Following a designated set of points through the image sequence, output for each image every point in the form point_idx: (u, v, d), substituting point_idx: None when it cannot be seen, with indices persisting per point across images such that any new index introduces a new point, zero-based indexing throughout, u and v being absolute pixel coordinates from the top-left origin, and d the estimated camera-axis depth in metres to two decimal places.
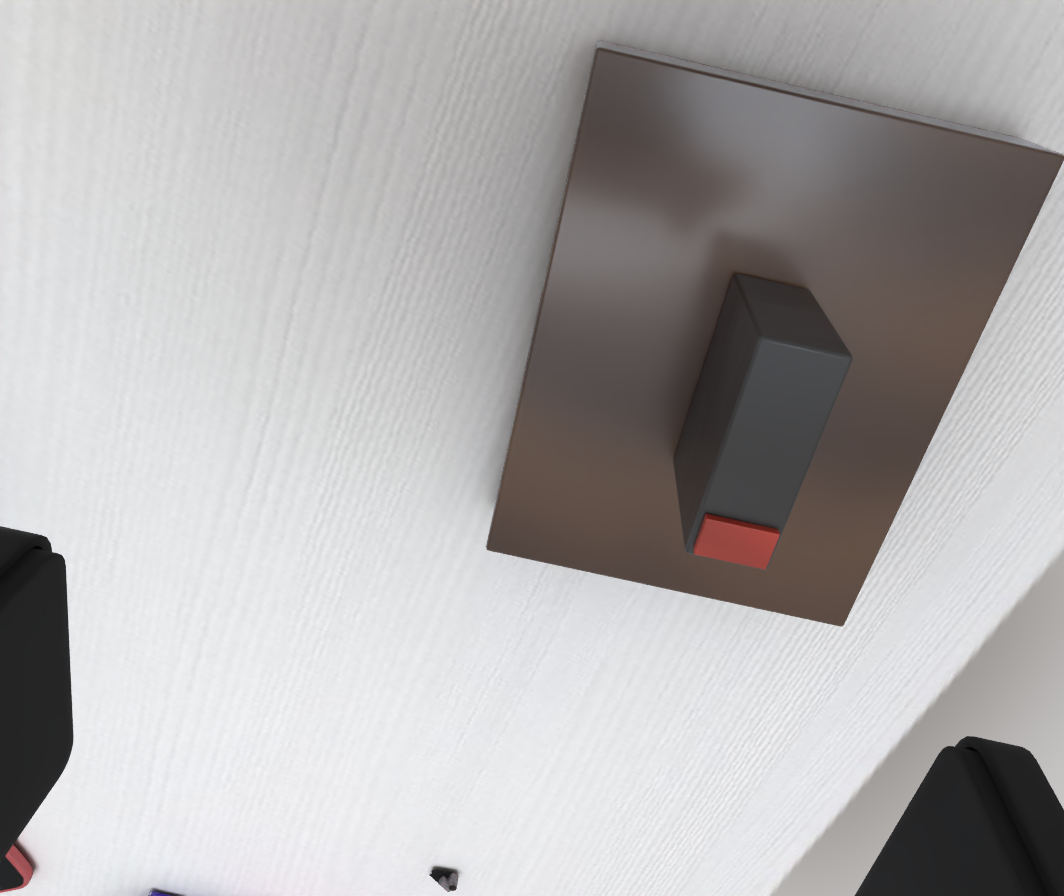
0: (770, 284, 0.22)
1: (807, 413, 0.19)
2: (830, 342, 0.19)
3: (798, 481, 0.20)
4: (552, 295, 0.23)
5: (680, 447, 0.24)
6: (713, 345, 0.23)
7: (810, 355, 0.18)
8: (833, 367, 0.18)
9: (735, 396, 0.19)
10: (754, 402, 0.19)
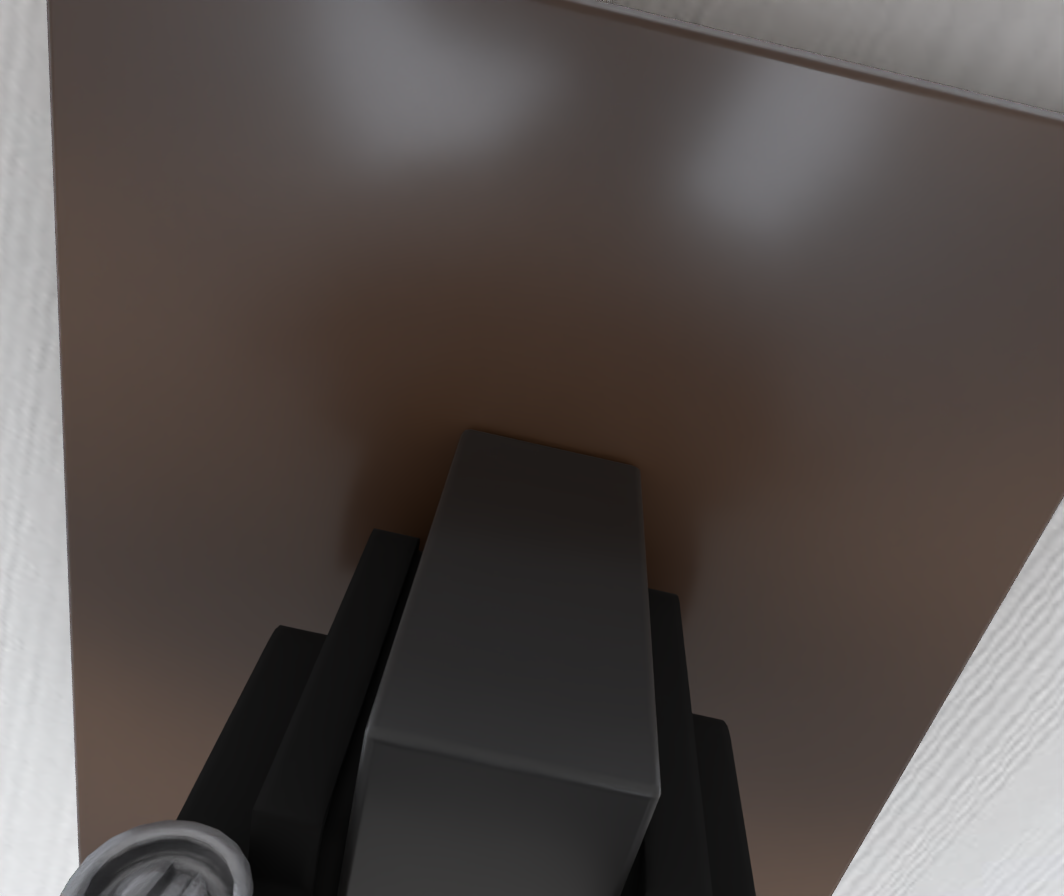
0: (540, 459, 0.09)
1: None
2: (607, 713, 0.06)
3: None
4: (82, 462, 0.10)
5: None
6: None
7: (528, 787, 0.06)
8: (602, 816, 0.06)
9: None
10: (386, 885, 0.06)
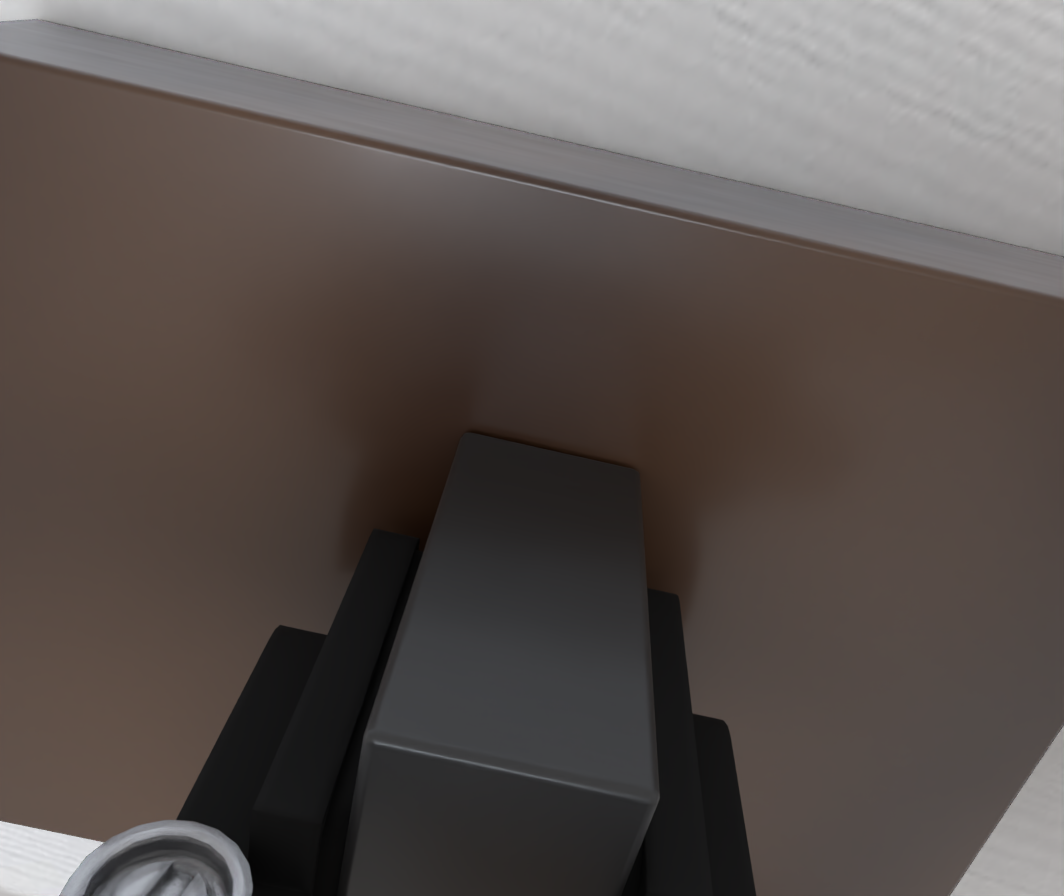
0: (539, 462, 0.09)
1: None
2: (606, 718, 0.06)
3: None
4: (722, 248, 0.09)
5: None
6: None
7: (525, 791, 0.06)
8: (600, 821, 0.06)
9: None
10: (384, 887, 0.06)
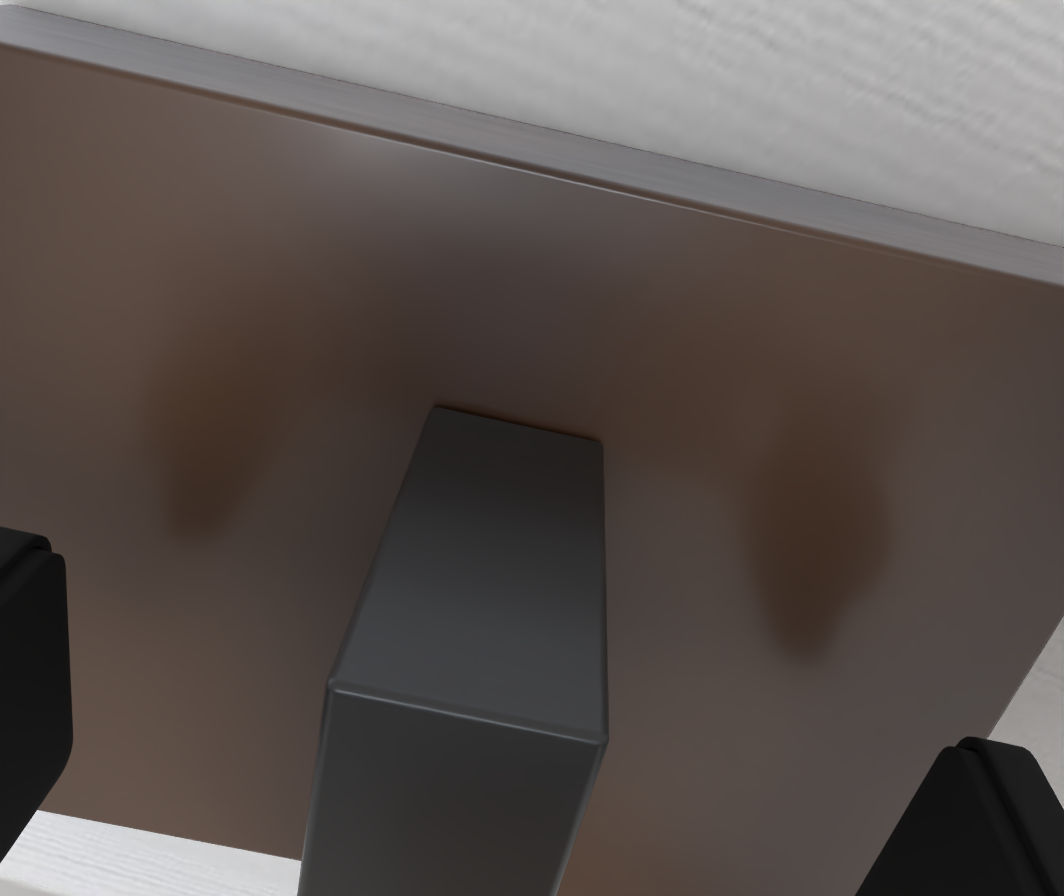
0: (505, 435, 0.10)
1: (501, 863, 0.07)
2: (560, 669, 0.07)
3: None
4: (680, 225, 0.09)
5: None
6: None
7: (482, 736, 0.06)
8: (553, 763, 0.06)
9: None
10: (349, 834, 0.07)
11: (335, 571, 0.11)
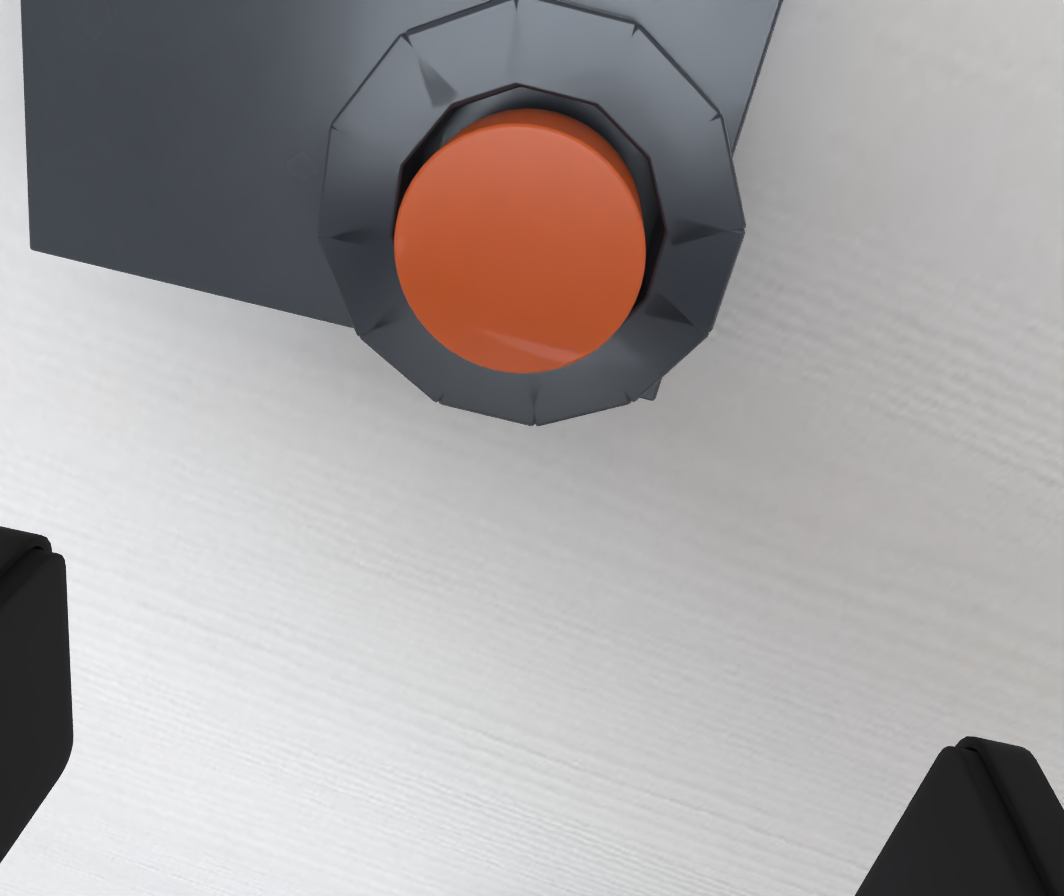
0: None
1: None
2: None
3: None
4: None
5: None
6: None
7: None
8: None
9: None
10: None
11: None
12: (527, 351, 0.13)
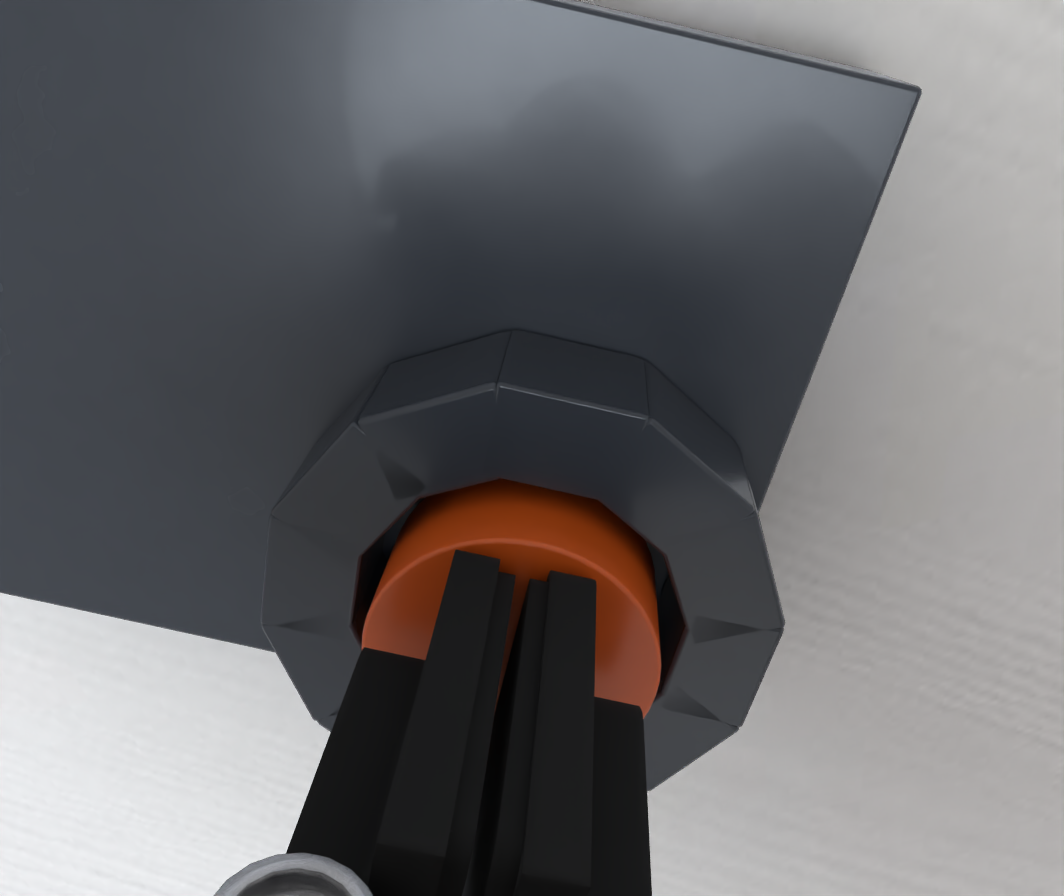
0: None
1: None
2: None
3: None
4: None
5: None
6: None
7: None
8: None
9: None
10: None
11: None
12: None
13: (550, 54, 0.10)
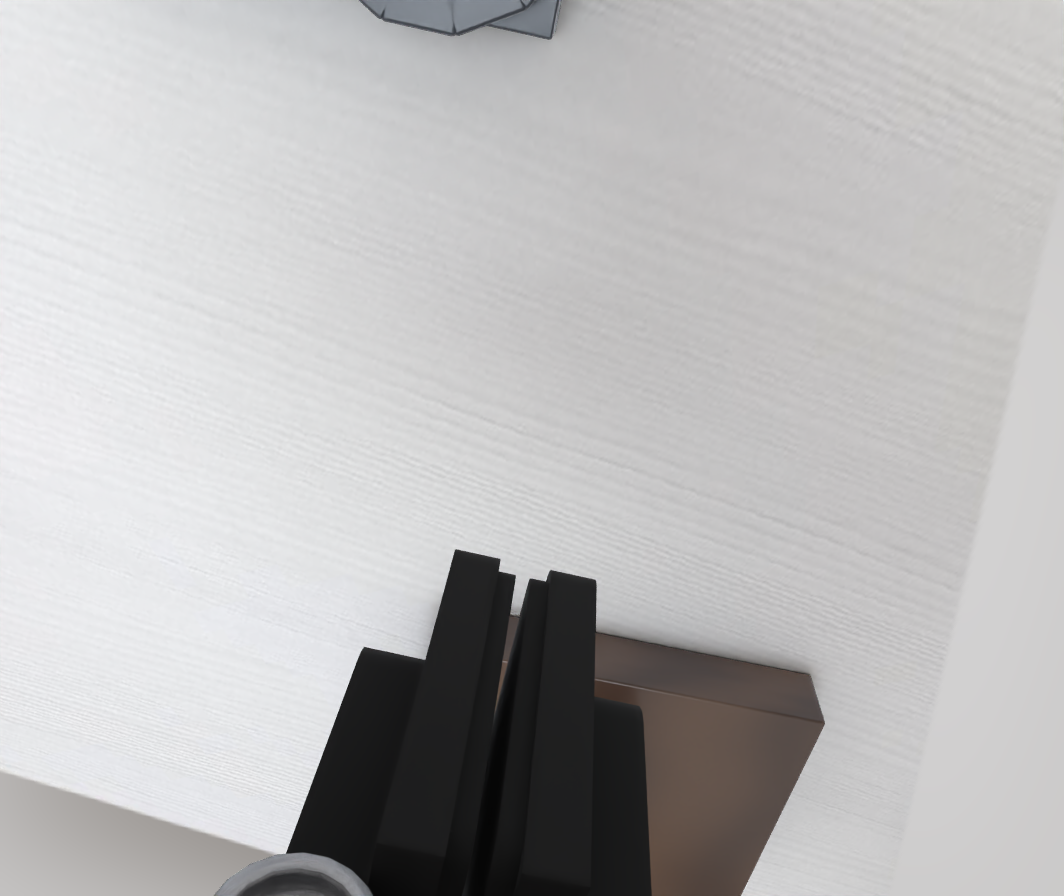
0: None
1: None
2: None
3: None
4: (662, 697, 0.31)
5: None
6: None
7: None
8: None
9: None
10: None
11: None
12: None
13: None
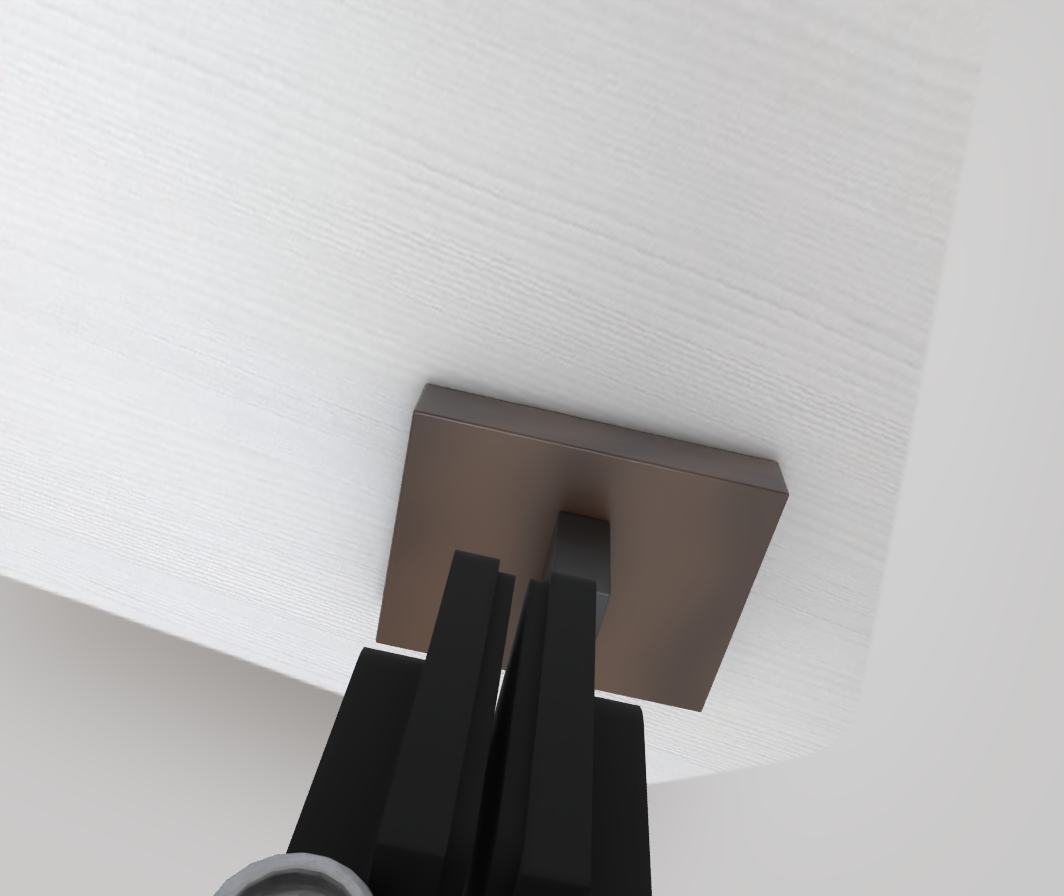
0: (581, 521, 0.33)
1: None
2: (600, 580, 0.30)
3: None
4: (631, 465, 0.33)
5: None
6: (548, 556, 0.34)
7: None
8: (598, 599, 0.30)
9: None
10: None
11: (524, 561, 0.35)
12: None
13: None
